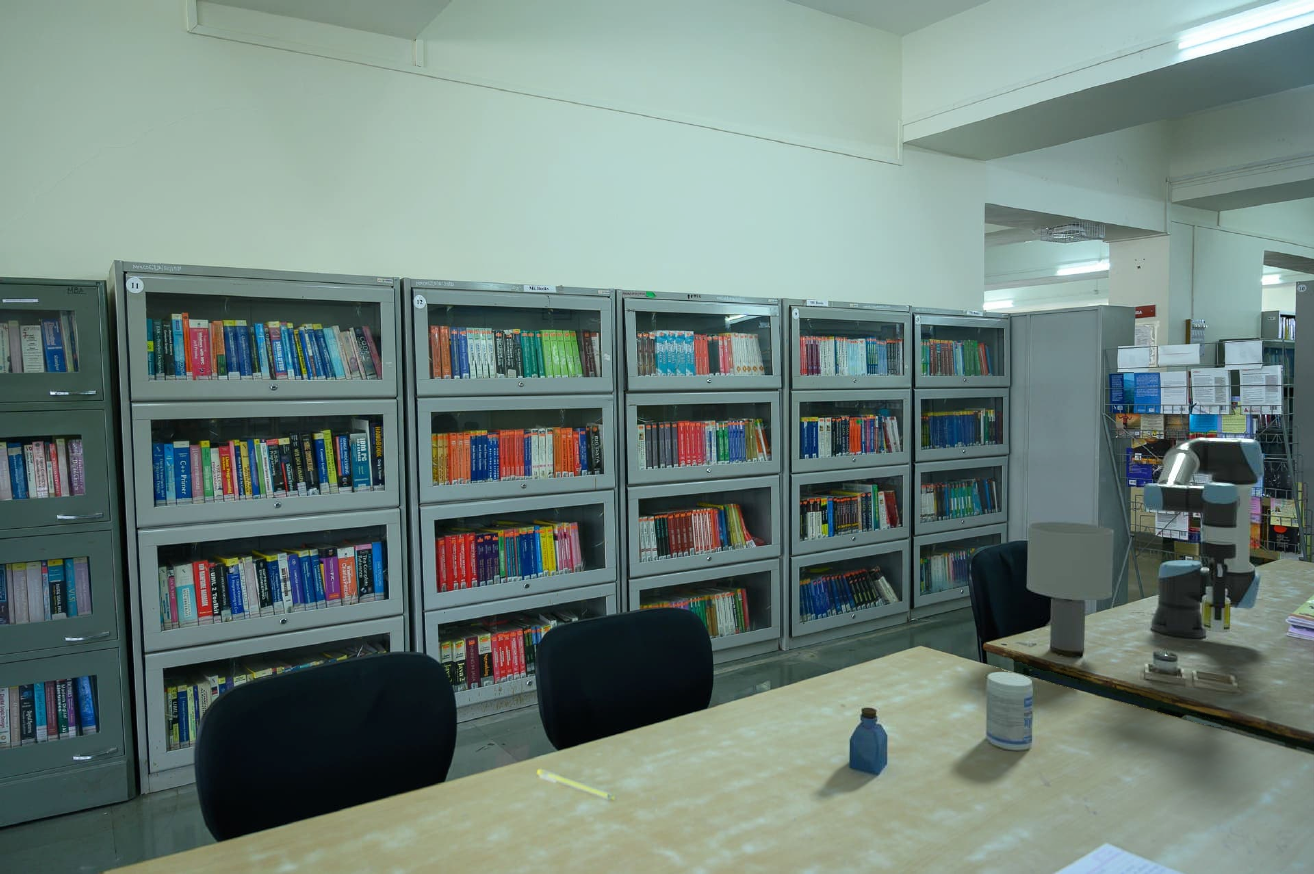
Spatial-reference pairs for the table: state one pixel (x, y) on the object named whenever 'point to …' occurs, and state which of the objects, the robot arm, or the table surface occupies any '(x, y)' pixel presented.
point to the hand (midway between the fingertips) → (1215, 628)
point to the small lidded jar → (1165, 663)
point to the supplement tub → (1009, 710)
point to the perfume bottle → (868, 744)
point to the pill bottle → (1207, 611)
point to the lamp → (1069, 576)
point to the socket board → (1194, 679)
